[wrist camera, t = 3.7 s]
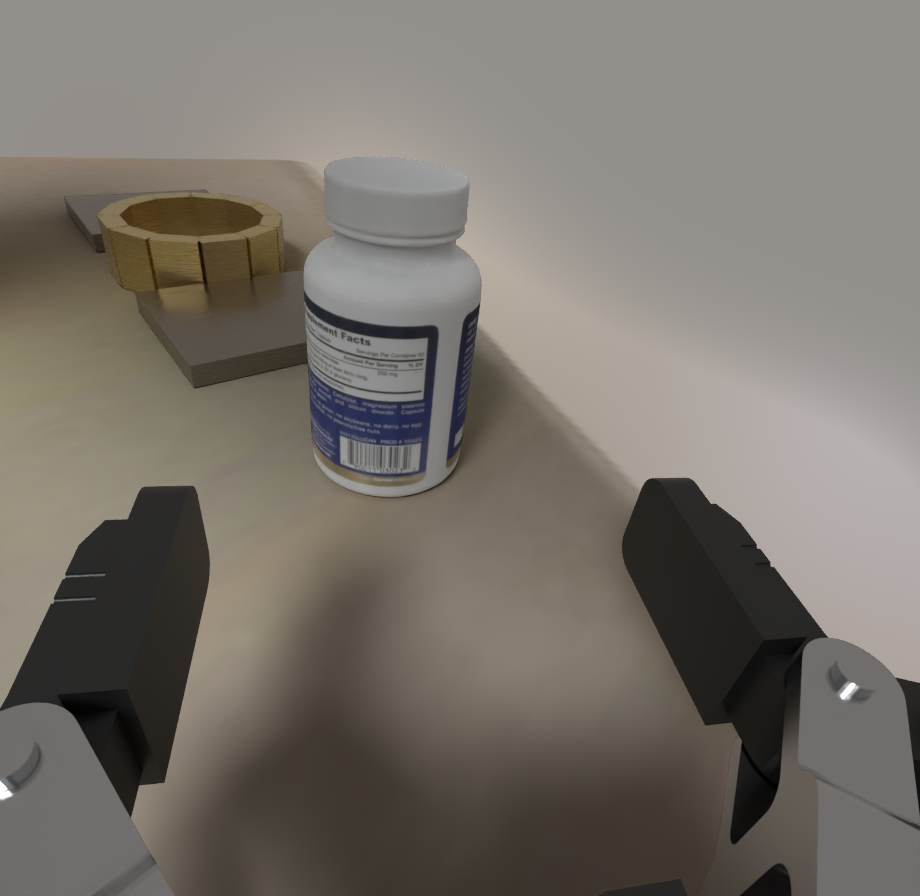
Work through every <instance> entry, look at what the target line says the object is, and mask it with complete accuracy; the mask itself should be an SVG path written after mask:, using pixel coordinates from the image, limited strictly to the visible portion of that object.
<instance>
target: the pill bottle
mask: <svg viewBox="0 0 920 896" xmlns="http://www.w3.org/2000/svg"><path fill="white" fill-rule="evenodd" d="M324 181H325V211H326V221H327V224H328V225H329V226H330V227H331V228H332V229H334V236H331V237H328V238H327V239H325V240H323V241H321V242H320V243H319V244H317V245H316V246H315V247H314V248H313V250H312V251H311V252H310V253H309V255H308V257H307V259H306V262H305V265H304V303H305V323H306V335H307V354H308V373H309V390H310V410H311V431H312V443H313V452H314V456H315V459H316V461H317V464H318V465H319V467H320V468H321V470H322V471H323V472H324V473H325V474H326V475H327V476H328V477H329V478H330V479H332V480H333V481H334V482H336V483H337V484H339V485H341V486H343V487H345V488H347V489H349V490H352V491H355V492H358V493H362V494H366V495H371V496H379V497H400V496H407V495H412V494H416V493H419V492H422V491H425V490H428V489H430V488H432V487H434V486H436V485H437V484H439V483H440V482H442V481H443V480H444V479H445V478H446V477H447V476H448V475H449V474H450V473H451V472H452V470H453V469H454V467H455V466H456V464H457V461H458V458H459V455H460V450H461V444H462V437H463V429H464V422H465V414H466V406H467V398H468V390H469V383H470V375H471V368H472V360H473V353H474V346H475V337H476V330H477V323H478V316H479V308H480V300H481V276H480V272H479V269H478V267H477V265H476V263H475V262H474V260H473V259H472V258H471V256H469V255H468V253H466V252H465V251H464V250H463V249H461V248H460V247H458V246H457V245H456V244H455V243H456V239H458V238H460V237H461V236H462V235H463V233H464V231H465V228H464V225H465V224H466V222H467V207H468V196H469V180H468V178H467V177H466V176H465V175H464V174H462V173H460V172H459V171H457V170H454V169H451V168H449V167H445V166H441V165H438V164H434V163H429V162H424V161H419V160H413V159H406V158H397V157H353V158H346V159H341V160H337V161H333V162H331V163H330V164H328V165H327V166H326V168H325V171H324Z"/></svg>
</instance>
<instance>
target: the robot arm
mask: <svg viewBox="0 0 920 896" xmlns="http://www.w3.org/2000/svg"><path fill="white" fill-rule="evenodd" d="M756 546H757V544H756V543H755V541H754V540H753V539H752V538H751V536H750V535H749V534H748V532H747V531H746V530H745V529H744V527H743V526H742V524H741V523H740V522H739V521H737V520H736V519H735V518H733V517H732V516H731V515H730V514H728V513H727V512H726V511H724V510H723V509H722V508H721V507H719V506H718V505H717V504H710V502H709V501H708V499H707V498H706V497H705V495H704V494H703V493H702V491H701V490H700V489H699V487H698V486H697V484H696V483H695V482H694V481H693V480H691V479H689V478H652V479H649V480H647V481H646V482H645V483H644V485H643V487H642V489H641V492H640V494H639V497H638V500H637V502H636V505H635V507H634V510H633V512H632V515H631V518H630V520H629V523H628V525H627V528H626V530H625V533H624V536H623V541H622V553H623V559H624V563H625V566H626V568H627V570H628V572H629V574H630V576H631V578H632V580H633V582H634V584H635V586H636V588H637V590H638V592H639V594H640V596H641V598H642V600H643V602H644V604H645V606H646V608H647V610H648V612H649V614H650V616H651V618H652V620H653V622H654V624H655V626H656V628H657V630H658V632H659V634H660V636H661V638H662V640H663V642H664V644H665V646H666V648H667V650H668V652H669V654H670V656H671V658H672V660H673V662H674V664H675V666H676V668H677V670H678V672H679V674H680V676H681V678H682V680H683V682H684V684H685V686H686V688H687V690H688V692H689V694H690V696H691V698H692V700H693V702H694V704H695V706H696V708H697V710H698V712H699V714H700V716H701V718H702V720H703V722H704V724H705V725H713V724H722V723H731V722H732V724H733V726H734V728H735V729H736V731H737V733H738V735H737V736H736V738H735V739H734V741H733V744H732V747H731V754H730V761H729V768H728V775H727V782H726V789H725V796H724V803H723V810H722V817H721V824H720V831H719V838H718V844H717V849H716V853H715V857H714V860H713V863H712V865H711V867H710V869H709V872H708V874H707V876H706V878H705V881H704V883H703V886H702V889H701V893H700V896H920V683H917V682H913V681H908V680H903V679H899V678H895V677H894V676H893V675H892V673H891V672H890V671H889V670H888V669H887V668H886V667H885V666H884V665H883V664H882V663H881V662H880V661H879V660H877V659H876V658H875V657H873V656H872V655H871V654H869V653H868V652H866V651H864V650H863V649H861V648H859V647H857V646H855V645H853V644H851V643H848V642H846V641H842V640H839V639H834V638H828V637H827V636H826V635H825V633H824V632H823V631H822V629H821V628H820V627H819V625H818V624H817V623H816V622H815V620H814V619H813V618H812V616H811V615H810V614H809V613H808V611H807V610H806V608H805V607H804V606H803V605H802V603H801V602H800V601H799V599H798V598H797V597H796V595H795V594H794V593H793V591H792V590H791V589H790V587H789V586H788V585H787V583H786V582H785V581H784V580H783V579H782V577H781V576H780V574H779V573H778V572H777V571H776V569H775V568H774V567H771V566H770V561H769V560H768V559H767V557H766V556H765V555H764V553H763V552H762V551H761V549H757V547H756ZM209 571H210V559H209V550H208V544H207V539H206V534H205V530H204V525H203V520H202V515H201V510H200V505H199V500H198V495H197V492H196V489H195V487H194V486H158V487H143V488H142V489H141V490H140V491H139V493H138V495H137V498H136V500H135V503H134V505H133V508H132V510H131V513H130V515H129V518H128V519H127V520H105V521H104V522H103V523H102V524H101V525H100V526H99V527H97V528H96V529H95V530H94V531H93V532H92V533H91V534H90V535H89V536H88V537H87V538H86V539H85V540H84V541H83V542H82V543H81V544H79V546H78V548H77V550H76V552H75V554H74V557H73V559H72V561H71V563H70V565H69V567H68V569H67V571H66V573H65V574H66V578H65V579H63V580H62V582H61V584H60V586H59V588H58V590H57V592H56V594H55V597H54V604H51V605H50V607H49V609H48V611H47V613H46V616H45V618H44V620H43V622H42V624H41V626H40V628H39V630H38V632H37V635H36V637H35V639H34V641H33V643H32V645H31V647H30V649H29V651H28V654H27V656H26V658H25V660H24V662H23V664H22V666H21V668H20V670H19V672H18V675H17V677H16V679H15V681H14V683H13V685H12V687H11V689H10V691H9V694H8V696H7V698H6V699H5V701H4V703H3V705H2V706H1V708H0V896H175V895H174V893H173V892H172V890H171V888H170V886H169V884H168V883H167V881H166V879H165V877H164V876H163V874H162V872H161V870H160V868H159V867H158V865H157V863H156V862H155V860H154V858H153V857H152V855H151V854H150V852H149V850H148V848H147V847H146V845H145V843H144V841H143V840H142V838H141V836H140V834H139V832H138V831H137V829H136V827H135V825H134V823H133V821H132V820H131V815H132V811H133V807H134V803H135V799H136V795H137V791H138V787H139V785H147V784H156V783H164V782H165V777H166V773H167V768H168V764H169V759H170V755H171V750H172V746H173V741H174V737H175V732H176V728H177V723H178V719H179V714H180V710H181V705H182V701H183V696H184V692H185V687H186V683H187V678H188V674H189V669H190V665H191V660H192V656H193V651H194V647H195V642H196V638H197V633H198V629H199V624H200V620H201V615H202V611H203V606H204V602H205V597H206V593H207V588H208V582H209ZM599 896H687V895H686V892H685V890H684V887H683V885H682V882H681V879H678V880H672V881H666V882H660V883H654V884H648V885H642V886H636V887H630V888H624V889H618V890H612V891H606V892H604V893H603V894H601V895H599Z"/></svg>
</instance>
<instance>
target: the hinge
mask: <svg viewBox="0 0 920 896" xmlns="http://www.w3.org/2000/svg"><path fill="white" fill-rule="evenodd" d="M64 200H65V204H66V207H67V211H68V213H69V215H70V216H71V218H72V219H73V220H74V222H75V223H76V225H77V226H78V227H79V229H80V230H81V231H82V233H83V234H84V236H85V237H86V238H87V240H88V241H89V243H90V244H91V245H92V247H93V248H94V250H95V251H96V252H102V251H106V254H107V258H108V263H109V267H110V271H111V273H112V275H113V276H114V277H115V279H116V280H117V281H118V283H119V284H120V286H121V287H123V288H125V289H128V290H131V291H134V292H135V294H136V299H137V303H138V308H139V312H140V313H141V315H142V316H143V318H144V319H145V320H146V322H147V323H148V325H149V326H150V327H151V329H152V330H153V331H154V333H155V334H156V336H157V337H158V338H159V340H160V341H161V343H162V344H163V345H164V347H165V348H166V350H167V351H168V352H169V354H170V355H171V357H172V358H173V359H174V361H175V362H176V363H177V365H178V366H179V368H180V369H181V370H182V372H183V373H184V375H185V376H186V377H187V379H188V380H189V382H190V383H191V384H192V386H193V387H194V388H196V387H201V386H205V385H210V384H214V383H218V382H223V381H227V380H231V379H236V378H240V377H245V376H249V375H253V374H258V373H262V372H267V371H271V370H275V369H280V368H284V367H289V366H293V365H297V364H302V363H306V362H308V354H307V335H306V323H305V303H304V270H297V271H290V272H284V270H285V252H284V237H283V222H282V215H281V214H280V213H279V212H277V211H276V210H274V209H273V208H271V207H270V206H268V205H267V204H264V203H261V202H257V201H253V200H249V199H245V198H241V197H237V196H231V197H230V195H222V194H210V193H209V192H208V191H206V190H186V191H167V192H147V193H127V194H108V195H88V196H69V197H64Z"/></svg>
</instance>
